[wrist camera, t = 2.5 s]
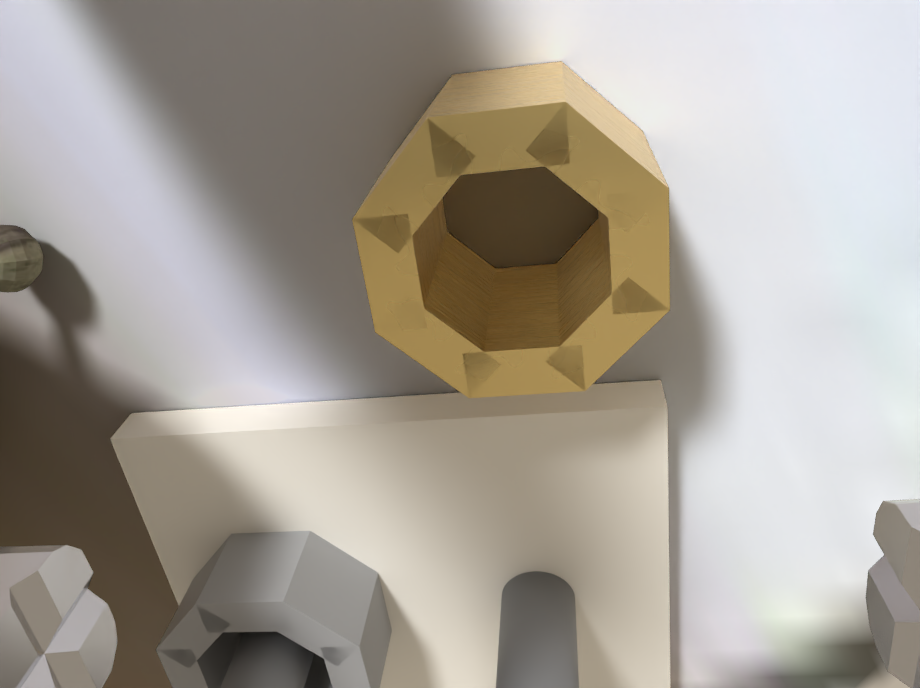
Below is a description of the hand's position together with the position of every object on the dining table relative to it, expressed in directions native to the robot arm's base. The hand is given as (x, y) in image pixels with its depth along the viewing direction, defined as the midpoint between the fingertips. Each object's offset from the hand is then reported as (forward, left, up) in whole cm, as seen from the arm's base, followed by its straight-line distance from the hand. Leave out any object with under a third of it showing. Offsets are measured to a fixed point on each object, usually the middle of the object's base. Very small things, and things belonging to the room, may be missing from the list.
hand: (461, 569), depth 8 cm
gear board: (+4, +10, -11) cm, 16 cm away
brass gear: (0, -1, -11) cm, 11 cm away
